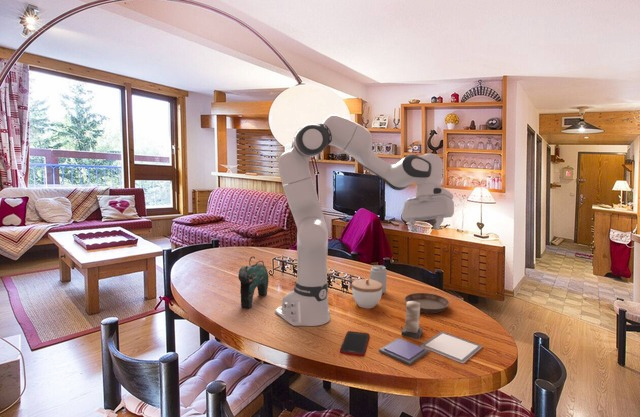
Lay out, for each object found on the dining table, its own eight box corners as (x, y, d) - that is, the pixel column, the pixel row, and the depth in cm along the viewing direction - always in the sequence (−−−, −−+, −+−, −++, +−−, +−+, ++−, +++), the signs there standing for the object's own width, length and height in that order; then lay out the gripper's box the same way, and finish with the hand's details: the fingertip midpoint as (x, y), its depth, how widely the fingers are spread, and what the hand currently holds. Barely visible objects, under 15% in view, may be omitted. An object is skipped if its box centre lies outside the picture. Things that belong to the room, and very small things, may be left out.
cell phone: (369, 336, 128) (369, 333, 128) (363, 357, 114) (364, 354, 114) (347, 333, 130) (347, 330, 130) (339, 354, 116) (339, 351, 116)
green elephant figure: (248, 311, 147) (248, 262, 144) (234, 309, 149) (233, 260, 146) (271, 294, 165) (271, 250, 163) (258, 292, 167) (257, 249, 165)
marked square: (420, 346, 120) (421, 344, 120) (441, 333, 130) (441, 331, 130) (463, 363, 111) (463, 361, 111) (481, 347, 120) (482, 345, 120)
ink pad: (379, 351, 117) (379, 347, 117) (398, 340, 125) (398, 336, 124) (409, 365, 109) (409, 361, 109) (428, 352, 117) (428, 348, 117)
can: (387, 295, 166) (388, 269, 165) (370, 294, 167) (371, 268, 165) (384, 289, 174) (385, 264, 172) (368, 289, 174) (369, 264, 172)
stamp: (401, 335, 128) (402, 304, 127) (405, 328, 134) (406, 299, 132) (419, 339, 126) (420, 308, 124) (422, 331, 131) (423, 302, 130)
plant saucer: (399, 310, 150) (399, 303, 150) (410, 296, 166) (410, 289, 166) (444, 319, 142) (445, 311, 142) (451, 304, 158) (452, 297, 157)
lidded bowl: (360, 312, 147) (361, 285, 145) (346, 301, 158) (346, 276, 157) (387, 308, 152) (388, 282, 150) (371, 297, 163) (372, 273, 162)
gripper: (400, 196, 145) (396, 230, 141) (448, 187, 130) (445, 225, 125) (410, 202, 149) (406, 235, 144) (457, 194, 133) (454, 231, 129)
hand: (424, 230), depth 135 cm, fingers open, 8 cm apart
